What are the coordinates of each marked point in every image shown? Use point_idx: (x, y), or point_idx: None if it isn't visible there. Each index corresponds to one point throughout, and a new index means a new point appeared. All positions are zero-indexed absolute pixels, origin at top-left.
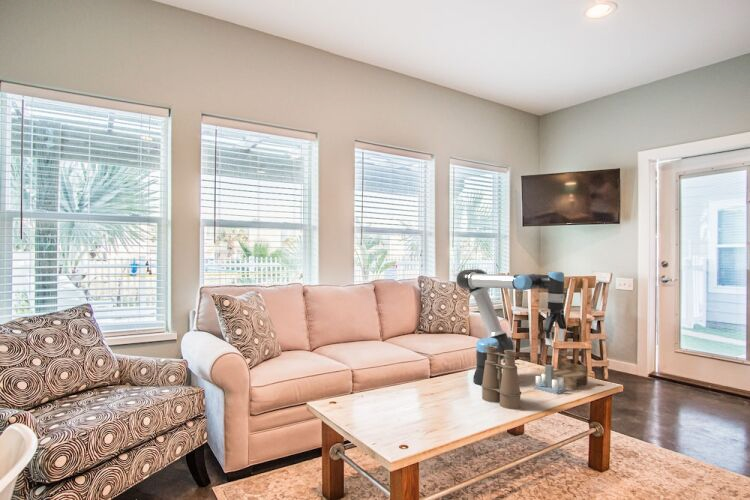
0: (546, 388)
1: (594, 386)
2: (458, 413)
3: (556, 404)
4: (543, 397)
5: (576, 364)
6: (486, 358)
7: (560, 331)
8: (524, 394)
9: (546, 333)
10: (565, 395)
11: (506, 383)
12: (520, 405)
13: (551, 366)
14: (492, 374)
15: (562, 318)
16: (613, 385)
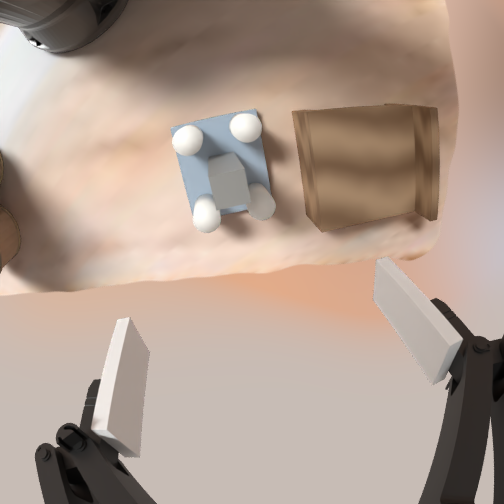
0: (194, 174)
1: (390, 222)
2: None
3: (117, 282)
4: (124, 220)
5: (438, 176)
6: None
7: (425, 343)
8: (86, 167)
9: (85, 426)
10: (215, 239)
11: None
12: (16, 252)
13: (224, 208)
14: None
15: (500, 471)
16: (432, 243)
